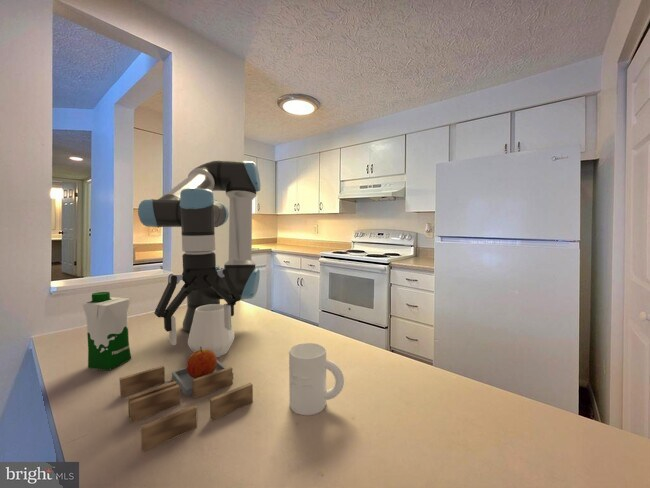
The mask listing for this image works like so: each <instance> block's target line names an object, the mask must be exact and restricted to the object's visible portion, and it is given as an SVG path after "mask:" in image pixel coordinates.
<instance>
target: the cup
mask: <svg viewBox="0 0 650 488" xmlns="http://www.w3.org/2000/svg"><path fill="white" fill-rule="evenodd" d="M234 340H235V333H234V329H233V325H232V324H231V330H228V329H226V328H225V327H224V304H221V303H220V304H209V305H203V306H200V307H198V308H196V310H195V313H194V317H193V321H192V326H191V330H190V332H189V335H188V338H187V345H188V347H189V348H190V350H191V351H192V353H194V352H196V351H198V350H201V349H200V347H201V348H202V350H210V351H212V352H213V353H214V354H215V356H216V358H220V357H222V356H224V355H225V354H226V353H228V352H229V349H230V348H231V346H232V344H233V342H234Z"/></svg>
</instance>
